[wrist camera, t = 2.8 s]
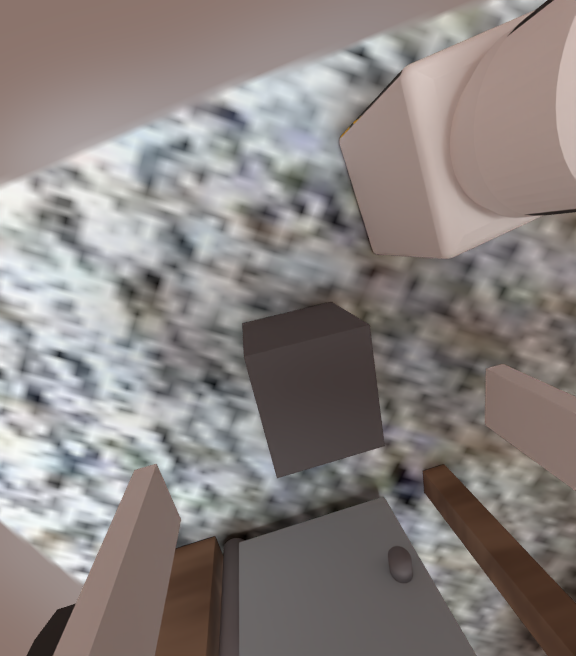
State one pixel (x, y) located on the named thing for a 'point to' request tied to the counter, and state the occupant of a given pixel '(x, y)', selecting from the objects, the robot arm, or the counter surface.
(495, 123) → the medicine bottle
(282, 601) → the door
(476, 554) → the doorframe
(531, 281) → the counter surface
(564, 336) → the counter surface
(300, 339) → the dark grey block
